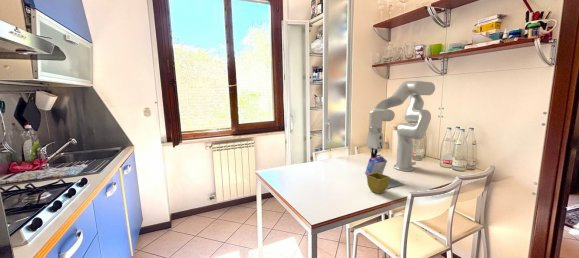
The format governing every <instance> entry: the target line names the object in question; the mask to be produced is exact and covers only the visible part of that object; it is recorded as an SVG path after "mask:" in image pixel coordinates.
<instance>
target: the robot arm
mask: <svg viewBox="0 0 579 258" xmlns="http://www.w3.org/2000/svg"><path fill="white" fill-rule="evenodd" d="M435 91H436V86H435V84H434V83H433V82H432V81H422V80H406V81H403V82H402V83H401V84H400V85H399V86H398V87H397V89H396V90H395V91H394V92H393V94H392V95H390V96H388V97H386V98H384V99H382V100H381V101H379V102H378V103H377V104H376V105H375V107H374V108H373V109H371V110H370V111H369V119H368V120H369V122H368V132H367V137H366V146H367V148H368V149H369V151H370V158H375V157H376V155H378V153H379V152H382V150H383V148H384V134H383V129H382V128H383V122H386V123H387V122H391V121H393V120H394V119H395V117H396V114H395V112H394V111H393V110H392V109H391V108H395V107H398V106H401V105H403V104H404V103H405V101H406V100H407V99H408V98H409V99H410V102H409V104H408V106H407V110H406V112H405V115H404V120H405V121H406V122H402V123H399V124H398V125H397V128H396V134H397V149H396V163H395V164H394V165H393V168H394V169H395V170H397V171H402V172H411V171H414V169H415V168H414V165H417V162H416V161H413V149H414V143H413V140H422V139H423V138H424V136H425V135H426V133H427V131H428V128H429V125H430V123H431V120H432V115H431V112H430V111H429V110H427V109H423V108H424V105H425V104H424V103H425V101H424V99H423V98H422V96H431V95H433V94H434V92H435ZM412 139H413V140H412Z"/></svg>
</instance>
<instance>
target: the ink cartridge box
mask: <svg viewBox="0 0 579 258" xmlns="http://www.w3.org/2000/svg"><path fill="white" fill-rule="evenodd" d="M387 163H388V160H387V159H386V158H385V157H384V156H382V155H381V154H377V155H376V157H375V158H371V157H370V158H369V159H368V163H367V166H366V169H365V172H364V174H365V176H366V177H367V175H369V174H372V173H380V174H383V175H384V170H385V168H386V165H387Z"/></svg>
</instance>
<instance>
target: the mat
mask: <svg viewBox="0 0 579 258" xmlns="http://www.w3.org/2000/svg"><path fill="white" fill-rule="evenodd" d="M401 186H405V184H404V182H401V181H399V180H395V179H394V178H391V177H390V180H389V184H388V187H387V189H386V190H389V189H392V188H397V187H401Z"/></svg>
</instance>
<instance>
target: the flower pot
mask: <svg viewBox="0 0 579 258" xmlns="http://www.w3.org/2000/svg"><path fill="white" fill-rule="evenodd" d="M390 178H391V176H388V175H386V174H384V173H383V174H380V173H372V174H369V175H367V176H366V180H367V181H366V182H367V186H368V188H369V190H370V191H371V192H374V193H376V194H378V195H379V194H382V193H385V192H386V190H388V189H387V187H388V184H389V180H390Z"/></svg>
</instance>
